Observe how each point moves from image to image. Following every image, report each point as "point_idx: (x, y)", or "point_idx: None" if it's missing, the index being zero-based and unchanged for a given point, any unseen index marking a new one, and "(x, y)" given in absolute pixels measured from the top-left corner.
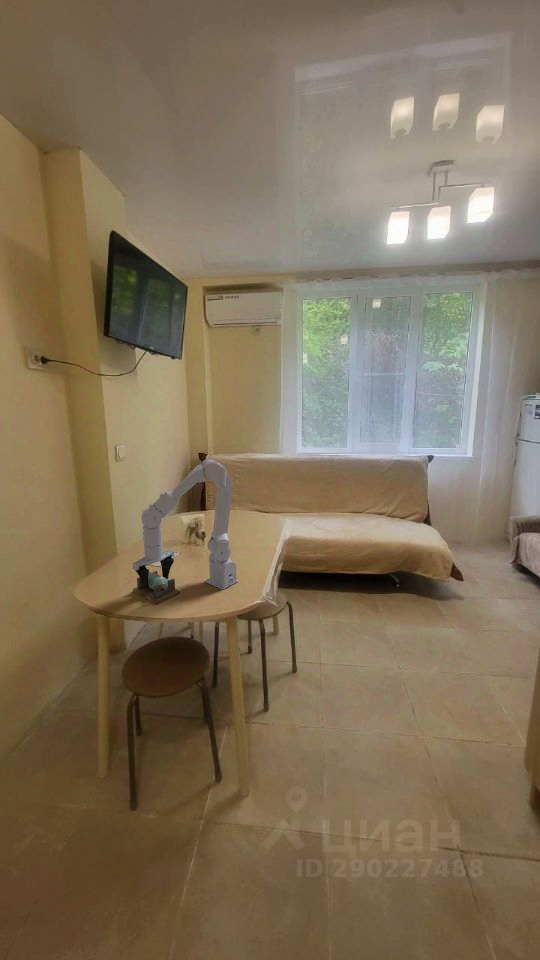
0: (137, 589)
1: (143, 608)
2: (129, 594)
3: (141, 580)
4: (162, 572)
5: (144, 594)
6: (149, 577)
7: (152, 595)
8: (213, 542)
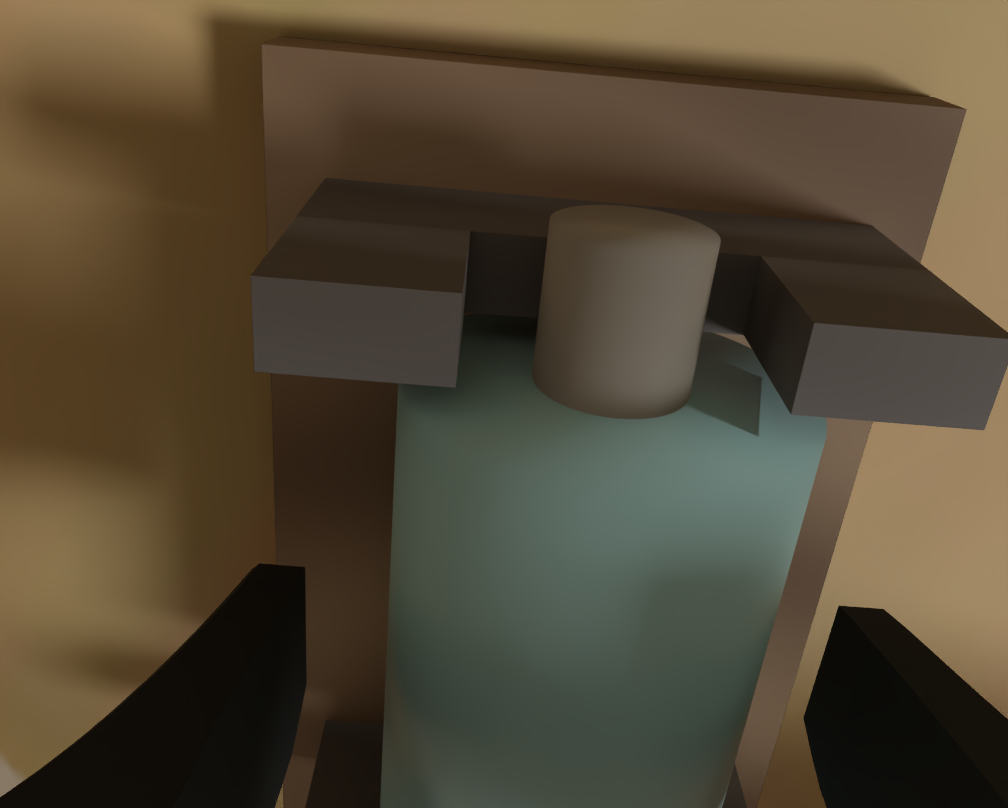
0: (316, 180)
1: (90, 708)
2: (145, 88)
3: (176, 662)
4: (906, 709)
5: (286, 496)
6: (455, 675)
7: (363, 634)
8: None
